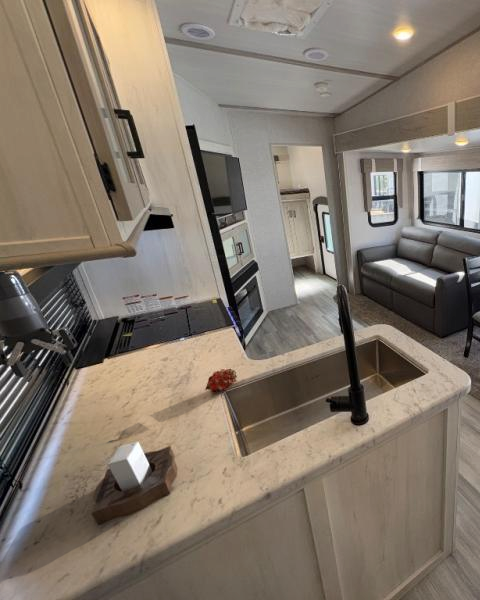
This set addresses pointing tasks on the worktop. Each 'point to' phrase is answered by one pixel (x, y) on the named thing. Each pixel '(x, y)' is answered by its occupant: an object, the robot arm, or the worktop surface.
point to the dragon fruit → (221, 380)
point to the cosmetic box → (130, 466)
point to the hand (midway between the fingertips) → (47, 370)
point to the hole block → (135, 488)
